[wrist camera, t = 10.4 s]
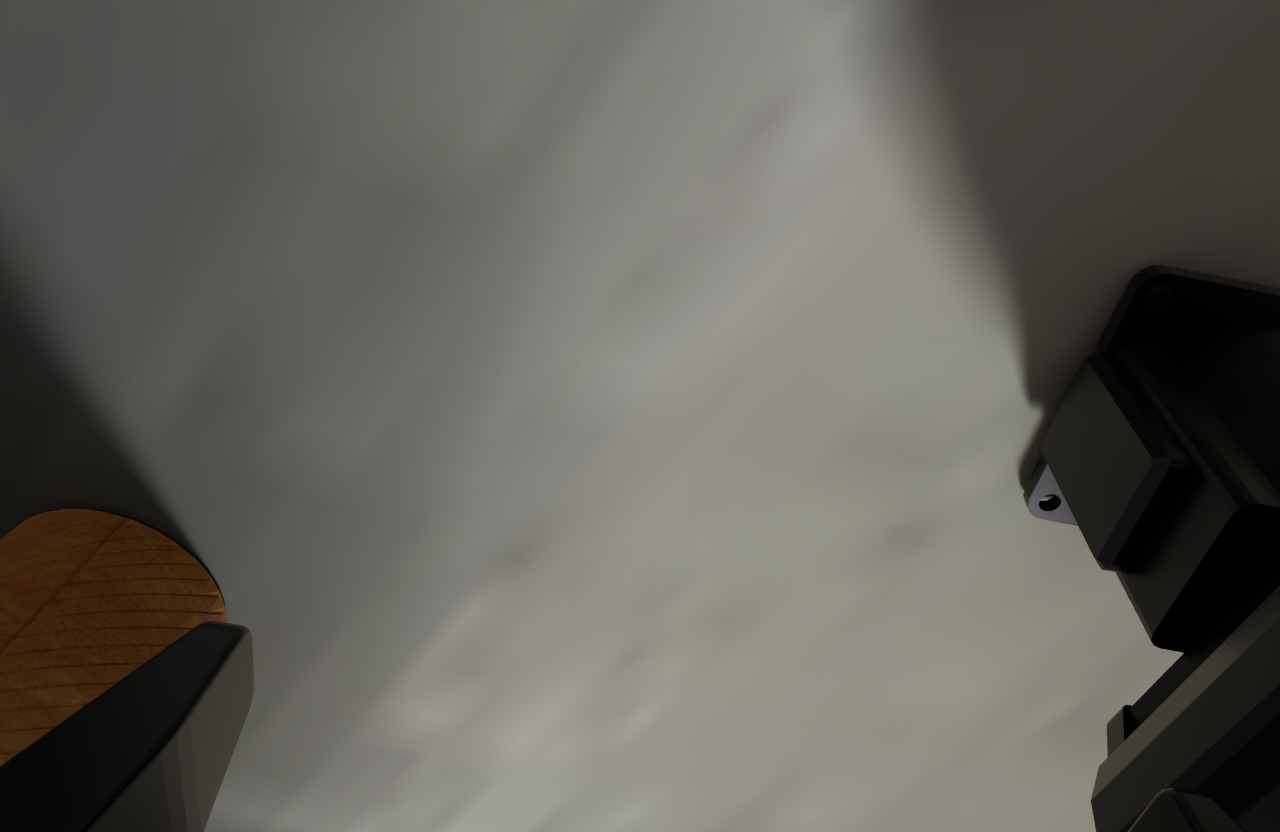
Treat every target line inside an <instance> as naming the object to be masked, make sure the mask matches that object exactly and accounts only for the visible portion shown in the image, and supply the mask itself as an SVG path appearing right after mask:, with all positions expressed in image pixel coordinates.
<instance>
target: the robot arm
mask: <svg viewBox="0 0 1280 832" xmlns="http://www.w3.org/2000/svg"><path fill="white" fill-rule="evenodd" d="M1164 284H1165V287H1164V290H1163V291H1162V292H1161V294H1160V295H1158V296H1156V297H1154V298H1146V297H1147V293H1148V292H1149V291H1150V290H1151V288H1153V287H1155V286H1157V285H1164ZM1040 450H1041V452H1042V456H1041V458H1040V460H1039V462H1038V464H1037V466H1036V468H1035V470H1034V472H1033V474H1032V476H1031V478H1030V480H1029V482H1028V484H1027V486H1026V488H1025V490H1024V494H1023V496H1024V500H1025V503H1026V505H1027V507H1028V509H1029V512H1030V513H1031V514H1032V515H1033V516H1035V517H1037V518H1040V519H1044V520H1049V521H1055V522H1060V523H1066V524H1071V525H1076V526H1079V528H1080V530H1081V532H1082V534H1083V536H1084V538H1085V540H1086V542H1087V544H1088V546H1089V548H1090V550H1091V552H1092V554H1093V556H1094V558H1095V560H1096V561H1097V563H1098V565H1099V566H1100V567H1101V569H1102V570H1107V571H1112V572H1116V574H1117V576H1118V578H1119V580H1120V582H1121V584H1122V585H1123V587H1124V589H1125V591H1126V593H1127V595H1128V597H1129V599H1130V601H1131V603H1132V605H1133V607H1134V609H1135V611H1136V613H1137V614H1138V616H1139V618H1140V620H1141V622H1142V624H1143V626H1144V628H1145V630H1146V632H1147V634H1148V636H1149V638H1150V640H1151V641H1152V643H1153V645H1154V646H1156V647H1159V648H1161V649H1167V650H1172V651H1178V652H1183V653H1184V654H1183V655H1182V656H1181V657H1180V658H1179V659H1178V660H1177V661H1176V662H1175V663H1174V664H1173V665H1172V666H1171V667H1170V668H1169V669H1168V670H1167V671H1166V672H1165V673H1164V674H1163V675H1162V676H1161V677H1160V678H1159V679H1158V680H1157V681H1156V682H1155V683H1154V684H1153V685H1152V686H1151V687H1150V688H1149V689H1148V691H1147V692H1146V693H1145V694H1144V695H1143V696H1142V697H1141V698H1140V699H1139V700H1138V701H1137V702H1136V703H1135V704H1134V705H1133V706H1130V705H1125V706H1123V707H1122V709H1121V710H1120V711H1119V712H1118V713H1117V714H1116V715H1115V716H1114V717H1113V718H1112V719H1111V720H1110V721H1109V722H1108V724H1107V747H1108V758H1107V759H1106V760H1105V761H1104V762H1103V763H1102V764H1101V765H1100V766H1099V769H1098V773H1097V778H1096V782H1095V786H1094V790H1093V794H1092V798H1091V804H1092V810H1093V815H1094V821H1095V827H1096V832H1280V289H1277V288H1272V287H1267V286H1262V285H1257V284H1252V283H1247V282H1242V281H1237V280H1232V279H1227V278H1222V277H1217V276H1212V275H1207V274H1202V273H1197V272H1192V271H1187V270H1182V269H1177V268H1172V267H1167V266H1151V267H1148V268H1145V269H1143V270H1141V271H1140V272H1138V273H1137V274H1136V275H1134V277H1133V278H1132V279H1131V281H1130V282H1129V284H1128V286H1127V288H1126V290H1125V292H1124V294H1123V296H1122V298H1121V300H1120V302H1119V304H1118V306H1117V308H1116V309H1115V311H1114V313H1113V315H1112V317H1111V319H1110V321H1109V323H1108V325H1107V327H1106V329H1105V331H1104V333H1103V335H1102V337H1101V339H1100V341H1099V343H1098V345H1097V347H1096V349H1095V351H1094V352H1092V353H1091V354H1089V355H1088V356H1087V357H1085V358H1084V359H1083V361H1082V363H1081V365H1080V367H1079V369H1078V371H1077V373H1076V375H1075V377H1074V379H1073V381H1072V383H1071V385H1070V387H1069V389H1068V391H1067V393H1066V395H1065V397H1064V399H1063V401H1062V403H1061V405H1060V407H1059V409H1058V411H1057V413H1056V415H1055V417H1054V419H1053V421H1052V423H1051V425H1050V427H1049V429H1048V431H1047V433H1046V435H1045V437H1044V439H1043V441H1042V443H1041V445H1040ZM1048 494H1055V496H1054V497H1053V498H1052V499H1049V500H1047V501H1040V500H1041V498H1042V497H1044V496H1046V495H1048ZM253 693H254V666H253V646H252V635H251V632H250V630H249V629H248V628H247V627H244V626H242V625H236V624H231V623H225V622H219V621H205V622H203V623H200V624H199V625H197V626H195V627H194V628H193V629H191V630H190V631H188V632H187V633H186V634H184V635H183V636H182V637H180V638H179V639H177V640H176V641H175V642H173V643H172V644H170V645H169V646H168V647H166V648H165V649H163V650H162V651H161V652H159V653H158V654H156V655H155V656H154V657H152V658H151V659H149V660H148V661H147V662H145V663H144V664H142V665H141V666H140V667H138V668H137V669H135V670H134V671H133V672H131V673H130V674H128V675H127V676H126V677H124V678H123V679H121V680H120V681H119V682H117V683H116V684H114V685H113V686H112V687H110V688H109V689H107V690H106V691H105V692H103V693H102V694H100V695H99V696H98V697H96V698H95V699H93V700H92V701H91V702H89V703H88V704H86V705H85V706H84V707H82V708H81V709H79V710H78V711H77V712H75V713H74V714H72V715H71V716H70V717H68V718H67V719H65V720H64V721H63V722H61V723H60V724H58V725H57V726H56V727H54V728H53V729H51V730H50V731H49V732H47V733H46V734H44V735H43V736H42V737H40V738H39V739H37V740H36V741H35V742H33V743H32V744H30V745H29V746H28V747H26V748H25V749H23V750H22V751H21V752H19V753H18V754H16V755H15V756H14V757H12V758H11V759H9V760H8V761H7V762H5V763H4V764H2V765H1V766H0V832H203V831H204V829H205V826H206V823H207V821H208V818H209V815H210V813H211V810H212V808H213V805H214V802H215V800H216V797H217V794H218V792H219V789H220V786H221V784H222V781H223V778H224V776H225V773H226V770H227V768H228V765H229V762H230V760H231V757H232V754H233V752H234V749H235V746H236V744H237V741H238V738H239V736H240V733H241V730H242V728H243V725H244V722H245V720H246V717H247V714H248V712H249V709H250V706H251V702H252V698H253Z"/></svg>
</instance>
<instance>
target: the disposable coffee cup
mask: <svg viewBox="0 0 1280 832" xmlns="http://www.w3.org/2000/svg"><path fill="white" fill-rule="evenodd" d="M205 621H219V622H225V623H227V622H226V611H225V606H224V603H223V600H222V597H221V594H220V591H219V590H218V588H217V586H216V585H215V583H214V581H213V580H212V578H211V577H210V575H209V574H208V573H207V571H206V570H205V569H204V568H203V567H202V566H201V565H200V563H199V562H198V561H197V560H196V559H195V558H194V557H193V556H191V555H190V554H189V553H188V552H186V551H185V550H184V549H183V548H181V547H180V546H179V545H178V544H176V543H175V542H174V541H172V540H171V539H169V538H168V537H166V536H164V535H163V534H161V533H160V532H158V531H156V530H154V529H152V528H150V527H148V526H145V525H143V524H141V523H139V522H137V521H135V520H131V519H128V518H124V517H121V516H117V515H114V514H111V513H107V512H102V511H95V510H89V509H61V510H54V511H48V512H43V513H41V514H38V515H36V516H33V517H30V518H28V519H26V520H25V521H24V522H22V523H21V524H20V525H18V526H17V527H15V528H14V529H13V530H12V531H11V532H9V533H8V534H7V535H6V536H5V537H3V538H2V539H1V540H0V766H1V765H2V764H4V763H5V762H7V761H8V760H9V759H11V758H12V757H14V756H15V755H16V754H18V753H19V752H21V751H22V750H23V749H25V748H26V747H28V746H29V745H30V744H32V743H33V742H35V741H36V740H37V739H39V738H40V737H42V736H43V735H44V734H46V733H47V732H49V731H50V730H51V729H53V728H54V727H56V726H57V725H58V724H60V723H61V722H63V721H64V720H65V719H67V718H68V717H70V716H71V715H72V714H74V713H75V712H77V711H78V710H79V709H81V708H82V707H84V706H85V705H86V704H88V703H89V702H91V701H92V700H93V699H95V698H96V697H98V696H99V695H100V694H102V693H103V692H105V691H106V690H107V689H109V688H110V687H112V686H113V685H114V684H116V683H117V682H119V681H120V680H121V679H123V678H124V677H126V676H127V675H128V674H130V673H131V672H133V671H134V670H135V669H137V668H138V667H140V666H141V665H142V664H144V663H145V662H147V661H148V660H149V659H151V658H152V657H154V656H155V655H156V654H158V653H159V652H161V651H162V650H163V649H165V648H166V647H168V646H169V645H170V644H172V643H173V642H175V641H176V640H177V639H179V638H180V637H182V636H183V635H184V634H186V633H187V632H188V631H190V630H191V629H193V628H194V627H195V626H197V625H199V624H200V623H203V622H205Z"/></svg>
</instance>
